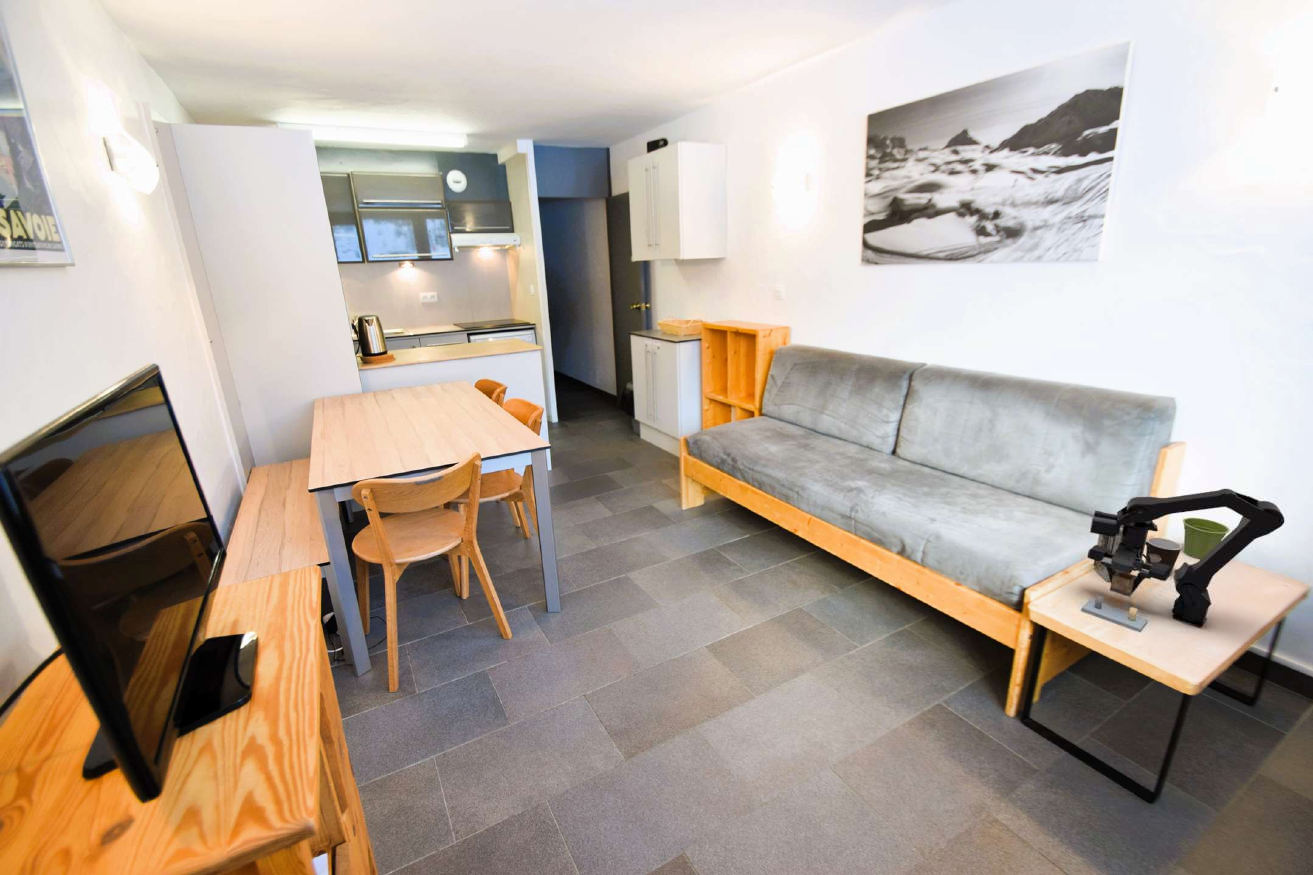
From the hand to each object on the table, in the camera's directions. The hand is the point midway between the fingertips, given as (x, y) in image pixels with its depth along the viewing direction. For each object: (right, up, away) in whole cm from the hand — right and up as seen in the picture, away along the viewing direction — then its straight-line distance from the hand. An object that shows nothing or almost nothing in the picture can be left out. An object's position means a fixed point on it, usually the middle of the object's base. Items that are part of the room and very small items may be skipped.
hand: (1122, 587), depth 174 cm
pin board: (-7, -7, -5) cm, 11 cm away
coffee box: (+9, 0, +16) cm, 18 cm away
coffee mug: (+25, +1, +19) cm, 32 cm away
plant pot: (+47, +4, +26) cm, 54 cm away
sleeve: (0, -1, 0) cm, 1 cm away
